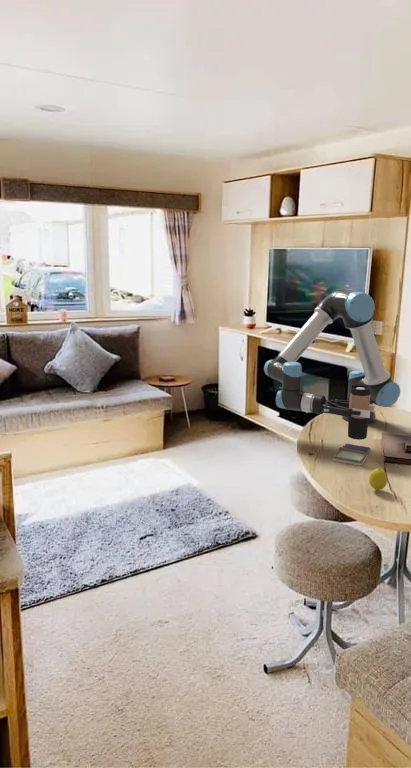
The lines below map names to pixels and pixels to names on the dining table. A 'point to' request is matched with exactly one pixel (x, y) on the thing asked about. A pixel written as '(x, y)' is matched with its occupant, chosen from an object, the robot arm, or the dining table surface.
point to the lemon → (378, 479)
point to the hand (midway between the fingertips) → (371, 411)
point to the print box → (350, 456)
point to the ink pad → (357, 448)
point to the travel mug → (358, 401)
